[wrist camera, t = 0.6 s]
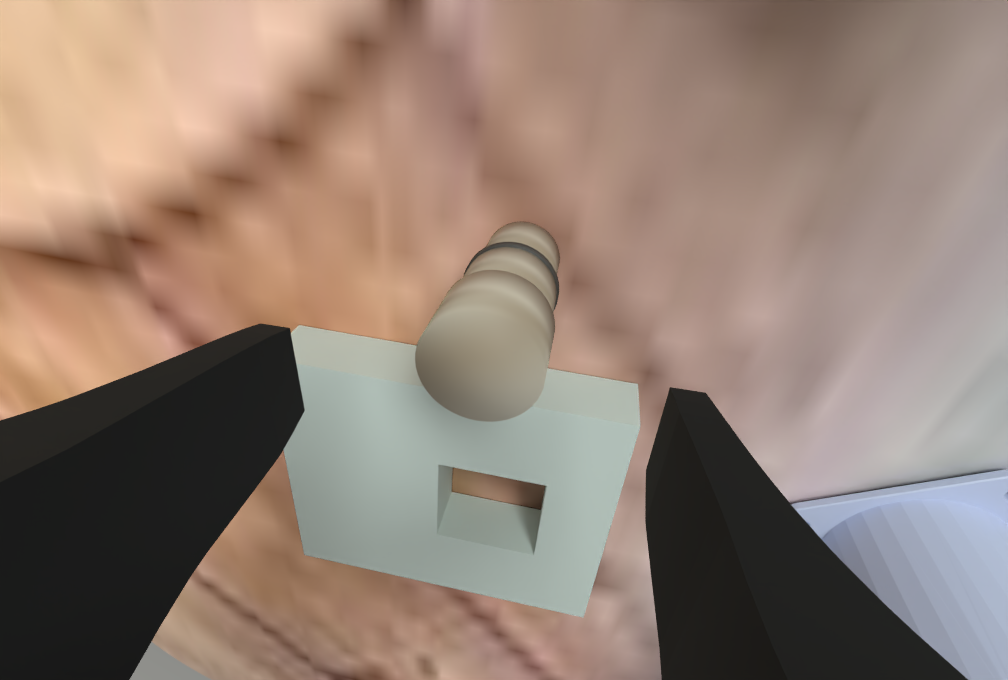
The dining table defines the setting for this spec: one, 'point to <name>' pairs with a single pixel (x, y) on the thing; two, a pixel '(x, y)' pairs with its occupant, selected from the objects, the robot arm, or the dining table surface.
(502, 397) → the peg
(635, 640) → the dining table surface
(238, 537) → the dining table surface
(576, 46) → the dining table surface
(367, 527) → the hole board
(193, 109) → the dining table surface
